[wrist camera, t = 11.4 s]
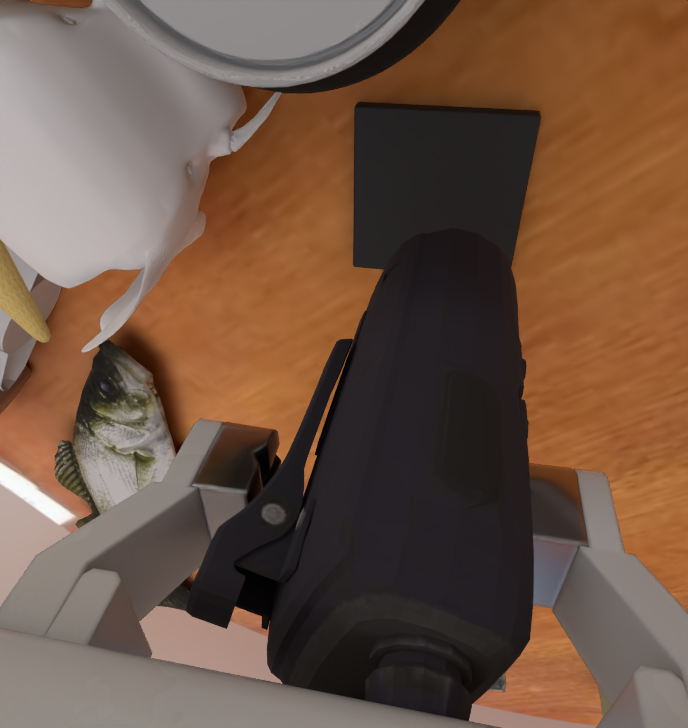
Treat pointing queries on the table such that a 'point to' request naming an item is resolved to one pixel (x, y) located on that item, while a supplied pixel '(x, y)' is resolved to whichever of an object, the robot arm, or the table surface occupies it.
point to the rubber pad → (438, 174)
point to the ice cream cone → (19, 299)
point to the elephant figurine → (104, 148)
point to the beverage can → (285, 37)
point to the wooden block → (13, 389)
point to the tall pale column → (8, 339)
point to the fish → (117, 440)
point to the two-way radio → (399, 499)
